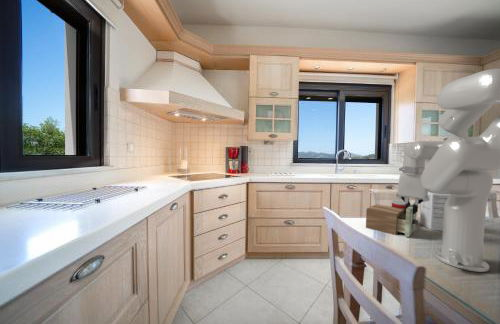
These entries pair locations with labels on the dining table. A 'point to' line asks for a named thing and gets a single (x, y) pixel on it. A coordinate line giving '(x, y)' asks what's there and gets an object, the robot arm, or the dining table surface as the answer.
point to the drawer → (407, 222)
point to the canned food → (399, 205)
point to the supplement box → (433, 211)
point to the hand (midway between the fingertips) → (411, 212)
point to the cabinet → (383, 218)
